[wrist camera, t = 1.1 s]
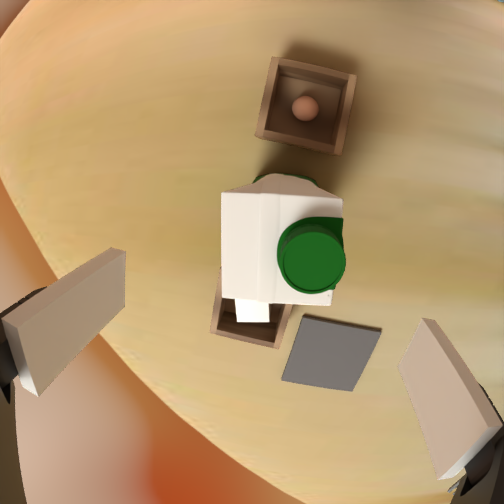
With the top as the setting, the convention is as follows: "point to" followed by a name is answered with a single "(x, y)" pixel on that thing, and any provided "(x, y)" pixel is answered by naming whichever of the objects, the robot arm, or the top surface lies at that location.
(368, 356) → the coaster
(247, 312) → the cube
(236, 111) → the top surface
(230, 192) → the soya milk
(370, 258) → the top surface
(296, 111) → the ball
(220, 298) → the crate
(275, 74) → the crate
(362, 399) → the top surface
